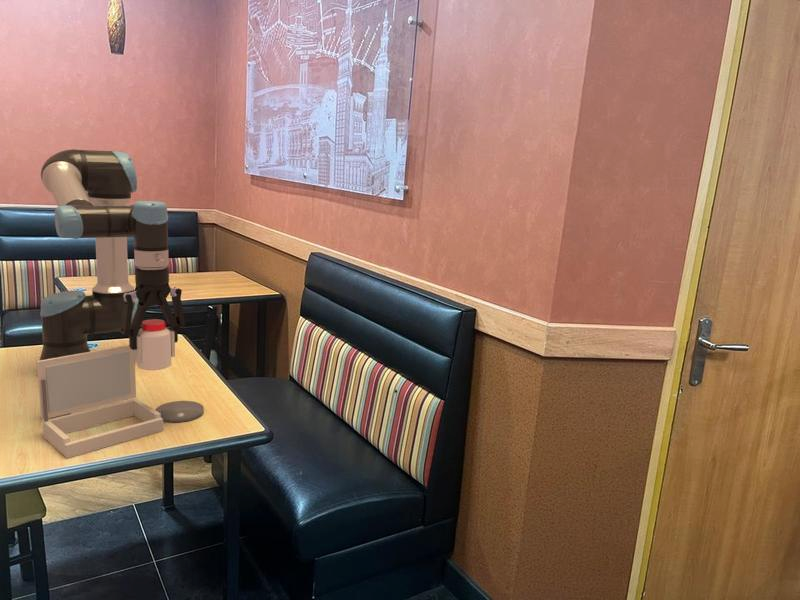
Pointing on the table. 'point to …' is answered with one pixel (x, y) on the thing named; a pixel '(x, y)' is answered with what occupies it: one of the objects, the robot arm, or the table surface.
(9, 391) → the table surface
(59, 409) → the box
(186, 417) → the saucer
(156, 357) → the pill bottle
